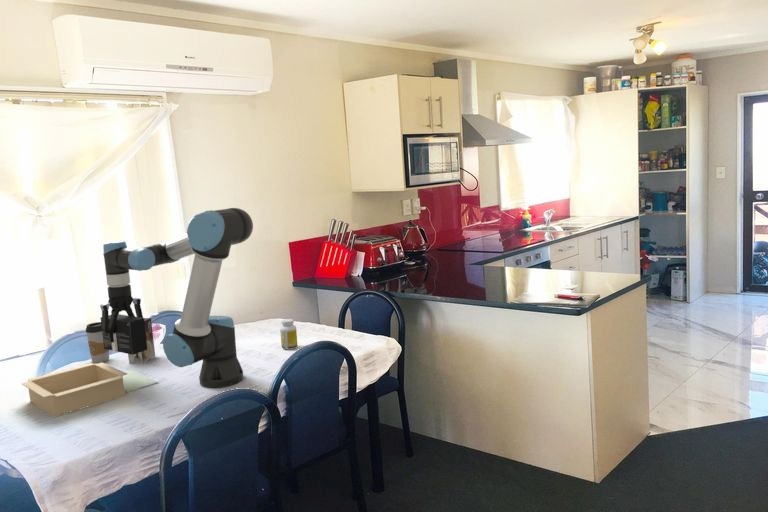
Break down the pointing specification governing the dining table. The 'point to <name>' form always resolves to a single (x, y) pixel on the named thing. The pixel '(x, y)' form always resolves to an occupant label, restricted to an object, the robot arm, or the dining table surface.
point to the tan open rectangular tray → (76, 388)
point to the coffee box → (150, 352)
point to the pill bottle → (288, 334)
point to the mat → (136, 381)
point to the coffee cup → (96, 343)
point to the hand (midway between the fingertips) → (125, 347)
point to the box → (127, 334)
